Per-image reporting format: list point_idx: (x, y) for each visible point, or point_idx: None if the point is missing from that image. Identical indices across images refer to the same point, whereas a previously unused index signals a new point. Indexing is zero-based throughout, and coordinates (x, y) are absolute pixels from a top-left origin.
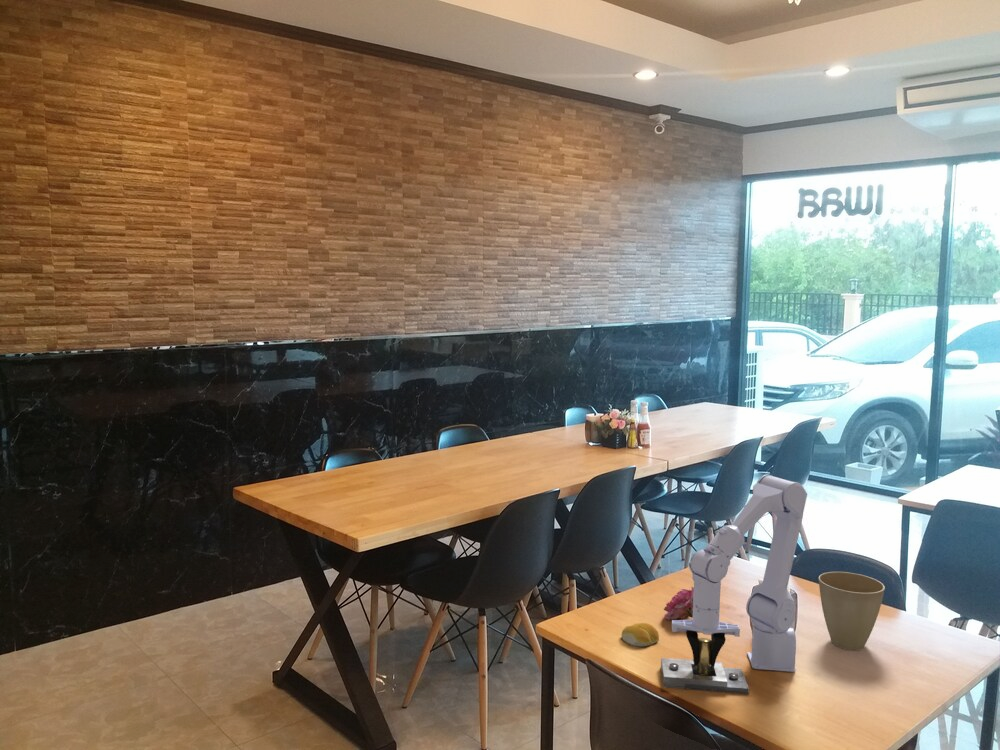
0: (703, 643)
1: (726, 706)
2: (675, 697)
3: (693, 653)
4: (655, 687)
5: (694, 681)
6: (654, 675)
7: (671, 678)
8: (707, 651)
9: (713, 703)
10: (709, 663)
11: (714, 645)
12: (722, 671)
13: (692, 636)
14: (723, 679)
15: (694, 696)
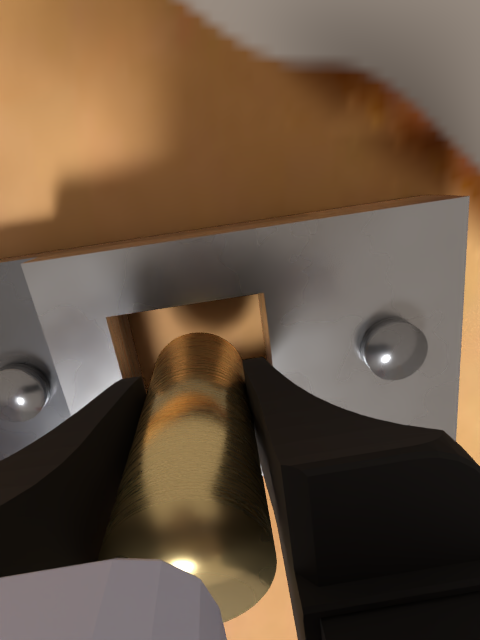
0: (199, 496)
1: (27, 50)
2: (362, 77)
3: (298, 386)
4: (475, 177)
5: (253, 226)
6: (464, 319)
7: (412, 205)
8: (156, 436)
9: (117, 68)
10: (151, 384)
11: (35, 477)
12: (77, 395)
13: (399, 540)
14: (53, 286)
15: (243, 132)
